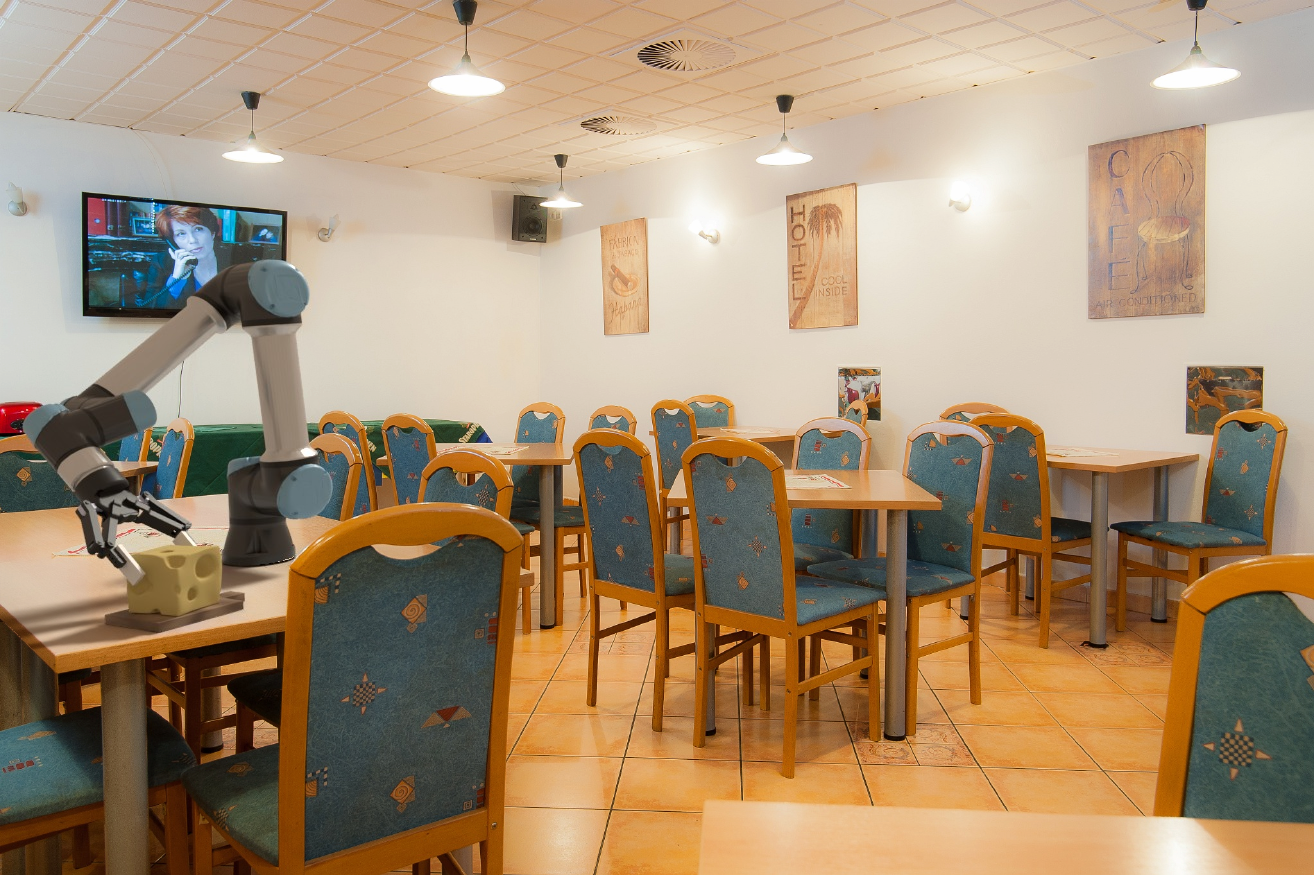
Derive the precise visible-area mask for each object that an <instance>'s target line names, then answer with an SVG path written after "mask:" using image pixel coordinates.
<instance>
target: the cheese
mask: <svg viewBox="0 0 1314 875" xmlns="http://www.w3.org/2000/svg"><path fill="white" fill-rule="evenodd" d="M129 554H130V555H131V556H132V558H133V559H134V560H135V561H136V562H137V564H138V565H139V566H140V567H141V568H142V570H143V571H144V572H145V573H146V574H145V575H144V577H143V578H142V579H141V580H140V581H139V582H138V584H137V585H134V586H133V585H132V584H131V583H130V582H129V581H128V579H127V578H126V596H127V605H128V608H127V609H129V612H130V613H148V614H150V613H160V612H161V614H162V615H169V616H181V615H183V614H186V613H188V612H191V611H194V610H197V609H200V608H203V607H206V606H210V605H213V604H216V603H219V596H220V593H221V589H222V580H223V579H222V577H223V575H222V574H223V563H222V556H221V554H222V552H221V548H220V546H219V545H197V546H181V545H175V544H168V545H164V546H163V545H162V546H159V547H156V548H153V549H147V550H143V551H139V552H133V553H129Z"/></svg>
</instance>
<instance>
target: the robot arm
mask: <svg viewBox="0 0 1314 875" xmlns="http://www.w3.org/2000/svg"><path fill="white" fill-rule="evenodd" d="M305 277H306V276H304V274H303V273H302V271H300V270H299V269H298V268H297V267H295V265H294V264H292V263H290V262H288V261H286V260H281V259H262V260H261V259H260V260H257V261H256V260H255V261H252V262H245V263H237V264H233V265H230V266H229V267H226V268H224V269H222V270H221V271H220V272H218V273H217V274H216V275H214V276H213V277H212V278H210V279H209V280H208V281H207V282H206V283H204V285H202V286H201V287H200V288H198V289H197V290H196V291H195V292H193V293H192V294H191V295H190V296H189V297H188V298H187V299H186V306H185V307H184V308H183V309H181V310H180V311H179V312H178V313H177V314H176V315H174V316H173V317H172V318H171V319H170V320H168V321H166V323H165V324H163V325H162V326H161V327H159V328H158V329H157V331H155V332H154V333H152V335H150V336H149V337H148V338H146V339H145V340H144V341H143V342H142V343H140V344H139V345H138V346H137V347H135V349H133V350H132V351H131V352H130V353H128V354H127V355H126V356H125V357H123V358H122V359H121V360H120V361H119V362H118V363H116V364H115V365H114V366H113V367H111V368H110V369H109V370H108V371H106V372H105V373H104V374H102V375H101V377H99V378H98V379H97V380H96V381H95V382H93V383H91V385H90V386H88V387H87V388H85V389H84V390H83V391H81V393H79V394H78V395H75V396H74V395H73V396H70V397H68V398H65V399H63V400H62V401H61V402H59V403H54V404H53V403H47V404H44V405H40V406H39V407H37V408H34V410H32V411H31V412H30V413H29V414H28V415H27V416H26V417H25V419H24V420H23V423H22V430H23V433H24V434H25V435H26V437H27V438H28V440H29V441H30V443H31V444H32V446H33V448H34V449H35V450H37V451H38V453H40V455H41V456H42V457H43V459H45V461H46V462H47V463H48V464H49V465H50V466H51V468H52V469H54V471H55V472H56V473H57V475H58V476H59V477H60V478H61V479H62V481H64V483H65V484H66V485H67V486H68V488H69V489H70V490H71V491H72V492H74V495H75V497H76V498H77V499H78V500H79V502H80V504H79V505H78V506H77V508H76V510H75V511H74V512H75V514H76V515H77V517H78V519H79V521H80V522H81V528H82V534H83V537H84V541H85V546H86V550H87V551H86V552H87V553H88V554H89V555H91V556H95V555H96V557H97V558H98V559H99V560H100V559H101V560H104V559H105V558H107V560H109V562H110V563H111V564H112V565H113V567H114V568H115V569H118V570H119V571H120V572H121V574H122V575H123V576H124V577H125V578H126V580H127V579H128V581H129V582H130V583H131V584H132V585H133V586H134V585H137V584H138V582H139V581H140V580H141V579H142V578H143V577H144V575H145V574H146V573H145V572H144V571H143V570H142V568H141V567H140V566H139V565H138V564H137V562H136V561H135V560H134V559H133V558H132V556H131V555H130V554H131V553H129V552H128V551H127V549H126V548H125V546H124V545H123V544H122V543H121V544H117V545H116V543H117V542H116V541H117V532H118V526H119V525H122V524H124V523H129V524H130V523H134V524H137V525H140V524H143V525H145V526H147V527H149V528H151V529H153V530H155V531H158V532H159V533H162V534H163V535H166V536H169V537H170V538H172V539H173V540H172V543H173V545H181V546H198V544H197V542H196V541H195V540H194V538H192V536H191V535H190V534H189V533H188V532H189V530H190V529H191V527H192V526H193V524H192V522H190V521H189V520H188V519H186V518H185V517H183V516H181V515H180V514H179V513H177V512H175V511H174V510H172V508H170V507H168V506H166V505H165V504H163V503H162V502H160V501H159V500H158V499H156V498H155V497H154V496H153V495H152V494H151V493H150V492H149V491H146V490H145V491H143V492H142V494H141V495H138V496H136V495H135V494H133V493H132V492H131V491H130V482H129V480H128V479H126V477H125V475H123V474H122V472H121V471H120V470H119V469H118V468H116V465H115V464H114V462H113V461H112V460H111V459H110V458H109V457H108V456H107V454H106V452H104V451H103V450H102V448H103V447H105V446H107V445H110V444H113V443H116V442H118V441H120V440H121V441H122V440H123V439H126V438H130V437H131V436H134V435H137V434H141V433H142V432H144V431H146V430H148V429H150V428H152V427H154V426H155V425H156V423H157V421H158V413H157V410H156V407H155V404H154V403H153V401H152V399H151V398H150V397H149V396H148V395H147V393H148V392H150V390H151V389H152V388H153V389H154V387H155V386H156V385H158V383H160V382H161V381H162V380H163V379H164V378H165V377H167V375H169V374H171V372H173V371H174V370H175V369H176V368H178V366H180V365H181V364H182V363H183V362H184V361H185V360H186V359H188V358H189V357H190V356H191V355H192V354H193V353H195V352H196V351H197V350H198V349H200V347H201V346H203V345H204V344H205V343H206V342H208V340H210V339H211V338H212V337H213V336H214V335H216V334H225V333H226V332H227V331H228V330H229V329H230V328H231V327H233V326H235V325H236V324H238V323H240V324H241V329H242V330H243V331H244V332H246V333H247V334H248V335H249V336H250V337H251V345H252V353H253V362H254V368H255V374H256V375H255V376H256V382H257V390H258V397H259V398H258V399H259V406H260V414H261V422H262V429H263V430H262V431H263V436H264V438H263V439H264V444H265V445H264V446H265V451H264V453H262V455H259V456H250V457H249V456H248V457H240V458H235V459H234V458H233V459H232V460H230V461H229V462H228V465H227V473H226V480H227V495H228V496H227V498H228V521H229V522H228V524H229V527H228V530H227V534H226V538H225V541H224V545H223V549H222V551H221V561H222V565H228V566H239V567H240V566H241V567H242V566H243V567H244V566H245V567H246V566H247V567H249V566H261V565H260V564H265V565H270V564H269V563H273V564H276V563H275V562H278V561H283V560H285V559H289V558H292V557H293V556H294V558H293V559H295V558H296V556H297V554H296V545H295V544H294V541H293V538H292V534H291V532H290V530H289V527H288V525H287V519H288V520H307V519H311V518H314V517H316V516H317V515H319V514H320V513H321V512H322V511H323V510H325V508H326V506H327V505H328V504H329V502H330V500H331V498H332V495H333V489H334V488H333V487H334V486H333V485H334V484H333V480H332V477H331V475H330V473H329V472H328V471H327V470H325V468H324V467H322V466H320V459H319V453H318V450H316V449H315V448H313V447H312V446H311V444H310V440H309V439H310V438H309V431H308V422H307V416H306V415H307V414H306V408H305V399H304V391H303V383H302V374H301V366H300V357H299V349H298V342H297V332H298V331H299V329H301V327H302V326H303V319H302V312H304V311H305V309H306V307H307V305H308V304H309V301H310V295H311V294H310V288H309V285H308V282H307V279H306V278H305ZM141 511H142V512H141ZM140 512H141V513H140ZM98 516H99V517H101V523H100V521H99V517H98ZM101 528H102V529H101ZM295 554H296V555H295Z"/></svg>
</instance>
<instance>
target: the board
mask: <svg viewBox="0 0 1314 875" xmlns="http://www.w3.org/2000/svg"><path fill="white" fill-rule="evenodd" d="M245 594H246V593H245V592H241V591H234V590H233V591H232V590H229V591H224V592H222V593H221V592H220V596H219V603H216V604H213V605H210V606H206V607H203V608H200V609H197V610H194V611H191V612H188V613H186V614H183V615H181V616H169V615H162V614H161V612H160V613H150V614H148V613H130V612H129V608H127V609H124V610H118V611H114V612H111V613H107V614H104V624H105V625H110V626H116V627H123V628H129V629H135V630H140V629H141V631H145V632H152V631H155V632H154V633H158V632H160V633H162V632H161V631H163V632H167V631H169V630H170V629H171V630H173V629H177V627H178V628H180V627H184V625H185V626H189V625H192V624H196V623H200V622H202V621H201V620H203V621H206V619H207V620H210V619H214V618H217V617H221V616H224V615H227V614H232V613H235V612H238V611H242V609H243V610H244V602H245V601H246V597H245ZM216 616H217V617H216ZM209 618H210V619H209ZM191 623H192V624H191ZM166 630H167V631H166ZM171 630H170V631H171Z"/></svg>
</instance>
